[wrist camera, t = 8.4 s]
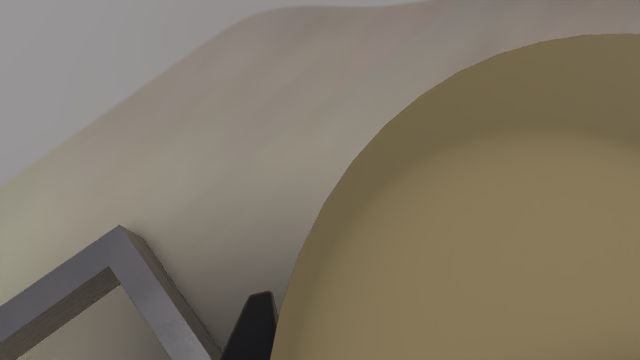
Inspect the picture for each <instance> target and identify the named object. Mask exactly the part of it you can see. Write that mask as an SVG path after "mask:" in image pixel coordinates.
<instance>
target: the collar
mask: <svg viewBox="0 0 640 360" xmlns="http://www.w3.org/2000/svg"><path fill="white" fill-rule="evenodd" d="M119 284H122V286H123V287H124V289H125V290H126V292H127V293H128V295H129V297H130V298H131V300H132V301H133V303H134V304H135V306H136V307H137V309H138V310H139V312H140V313H141V315H142V316H143V318H144V319H145V321H146V322H147V324H148V325H149V327H150V328H151V330H152V331H153V333H154V334H155V336H156V337H157V339H158V340H159V342H160V343H161V345H162V346H163V348H164V349H165V351H166V352H167V354H168V355H169V357H170V358H171V360H220V358H221V355H222V352H221V351H220V349H219V348H218V346H217V345H216V343H215V342H214V340H213V339H212V338H211V336H210V335H209V333H208V332H207V330H206V329H205V328H204V326H203V325H202V323H201V322H200V320H199V319H198V317H197V316H196V315H195V313H194V312H193V310H192V309H191V307H190V306H189V304H188V303H187V302H186V300H185V299H184V297H183V296H182V294H181V293H180V292H179V290H178V289H177V287H176V286H175V284H174V283H173V281H172V280H171V279H170V277H169V276H168V274H167V273H166V271H165V270H164V268H163V267H162V266H161V264H160V263H159V261H158V260H157V258H156V257H155V255H154V254H153V253H152V251H151V250H150V248H149V247H148V245H147V244H146V243H145V241H144V240H143V238H141V237H140V236H138V235H136V234H134V233H133V232H131V231H129V230H127V229H126V228H124V227H122V226H120V225H118V226H117V227H116V228H114V229H113V230H111V231H110V232H108V233H107V234H105V235H104V236H102V237H101V238H100V239H98V240H97V241H95V242H94V243H92V244H91V245H89V246H88V247H86V248H85V249H84V250H82V251H81V252H79V253H78V254H76V255H75V256H73V257H72V258H70V259H69V260H68V261H66V262H65V263H63V264H62V265H60V266H59V267H57V268H56V269H54V270H53V271H52V272H50V273H49V274H47V275H46V276H44V277H43V278H41V279H40V280H38V281H37V282H36V283H34V284H33V285H31V286H30V287H28V288H27V289H25V290H24V291H22V292H21V293H20V294H18V295H17V296H15V297H14V298H12V299H11V300H9V301H8V302H6V303H5V304H3V305H2V306H1V307H0V360H15V359H17V358H18V357H19V356H21V355H22V354H24V353H25V352H26V351H28V350H29V349H31V348H32V347H33V346H35V345H36V344H37V343H39V342H40V341H42V340H43V339H44V338H46V337H47V336H49V335H50V334H51V333H53V332H54V331H56V330H57V329H58V328H60V327H61V326H62V325H64V324H65V323H67V322H68V321H69V320H71V319H72V318H74V317H75V316H76V315H78V314H79V313H81V312H82V311H83V310H85V309H86V308H87V307H89V306H90V305H92V304H93V303H94V302H96V301H97V300H99V299H100V298H101V297H103V296H104V295H105V294H107V293H108V292H110V291H111V290H112V289H114V288H115V287H117V286H118V285H119Z"/></svg>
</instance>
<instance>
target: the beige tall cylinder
mask: <svg viewBox="0 0 640 360" xmlns="http://www.w3.org/2000/svg"><path fill="white" fill-rule="evenodd" d="M270 360H640V35H639V34H602V35H581V36H575V37H568V38H562V39H556V40H550V41H544V42H538V43H535V44H532V45H528V46H525V47H521V48H518V49H515V50H511V51H508V52H504V53H501V54H498V55H496V56H493V57H491V58H489V59H487V60H484V61H482V62H480V63H478V64H475V65H473V66H471V67H469V68H466V69H464V70H462V71H460V72H458V73H456V74H454V75H453V76H451V77H450V78H448V79H446V80H445V81H443V82H442V83H440V84H438V85H437V86H435V87H434V88H432V89H430V90H429V91H427V92H426V93H424V94H422V95H421V96H419V97H418V98H417V99H416V100H415V101H413V102H412V103H411V104H410V105H409V106H407V107H406V108H405V109H404V110H403V111H402V112H400V113H399V114H398V115H397V116H396V117H394V118H393V119H392V120H391V121H390V122H388V123H387V124H386V125H385V126H384V127H383V128H382V129H381V130H380V131H379V133H378V134H377V135H376V136H375V137H374V138H373V139H372V140H371V141H370V143H369V144H368V145H367V146H366V147H365V148H364V149H363V150H362V151H361V152H360V154H359V155H358V156H357V157H356V158H355V159H354V160H353V161H352V163H351V164H350V166H349V167H348V169H347V170H346V172H345V173H344V175H343V176H342V178H341V179H340V181H339V182H338V184H337V185H336V187H335V188H334V189H333V191H332V192H331V194H330V195H329V197H328V198H327V200H326V201H325V203H324V205H323V207H322V209H321V211H320V213H319V215H318V217H317V219H316V221H315V223H314V225H313V227H312V229H311V231H310V233H309V235H308V237H307V239H306V241H305V243H304V245H303V247H302V249H301V251H300V253H299V256H298V259H297V262H296V265H295V268H294V271H293V274H292V277H291V279H290V282H289V285H288V288H287V291H286V294H285V297H284V300H283V303H282V306H281V309H280V314H279V319H278V324H277V329H276V333H275V338H274V343H273V348H272V353H271V357H270Z"/></svg>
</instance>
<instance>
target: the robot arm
mask: <svg viewBox="0 0 640 360" xmlns="http://www.w3.org/2000/svg"><path fill="white" fill-rule="evenodd" d="M277 324H278V314H277V310H276V306H275V301H274V297H273V294H272V292H271V291H265V292H261V293H257V294H252V295H250V296H249V298H248V299H247V302H246V304H245V306H244V308H243V310H242V312H241V315H240V317H239V319H238V321H237V323H236V325H235V327H234V330H233V332H232V334H231V336H230V338H229V340H228V342H227V345H226V347H225V349H224V351H223V353H222V355H221V358H220V360H270V357H271V353H272V348H273V343H274V338H275V333H276V329H277Z"/></svg>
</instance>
